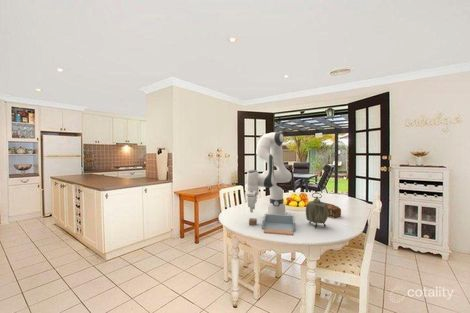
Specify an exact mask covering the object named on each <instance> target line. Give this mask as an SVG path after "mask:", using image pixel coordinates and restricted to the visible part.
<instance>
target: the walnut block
mask: <svg viewBox="0 0 470 313" xmlns="http://www.w3.org/2000/svg"><path fill="white" fill-rule="evenodd" d="M257 222H258V218H254V217H250V218H249V219H248V225H249V226H257Z"/></svg>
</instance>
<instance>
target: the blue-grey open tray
mask: <svg viewBox="0 0 470 313" xmlns="http://www.w3.org/2000/svg"><path fill="white" fill-rule="evenodd" d="M262 218H263V219H262V223H261V224H262V227H261V228H262V230H264V229H277V230H289V231H293V233H296V219H295V215H290V214H288V215H275V214H266V213H264V215H263V217H262Z"/></svg>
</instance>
